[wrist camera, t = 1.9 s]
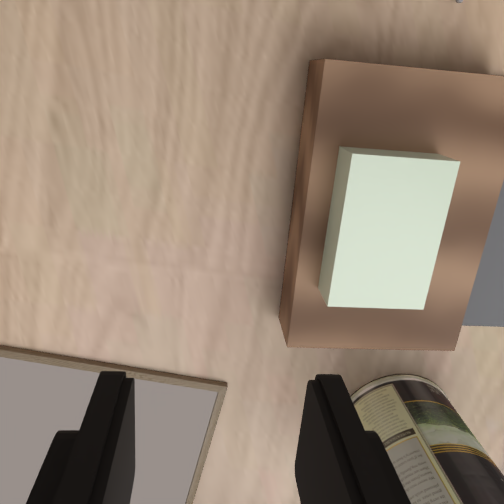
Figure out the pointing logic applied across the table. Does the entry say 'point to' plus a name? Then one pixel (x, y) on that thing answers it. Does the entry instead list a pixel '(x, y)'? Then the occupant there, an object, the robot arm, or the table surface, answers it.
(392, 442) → the coffee can
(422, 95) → the brown wooden flat block
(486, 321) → the mat
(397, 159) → the block
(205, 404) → the picture frame
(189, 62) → the table surface
